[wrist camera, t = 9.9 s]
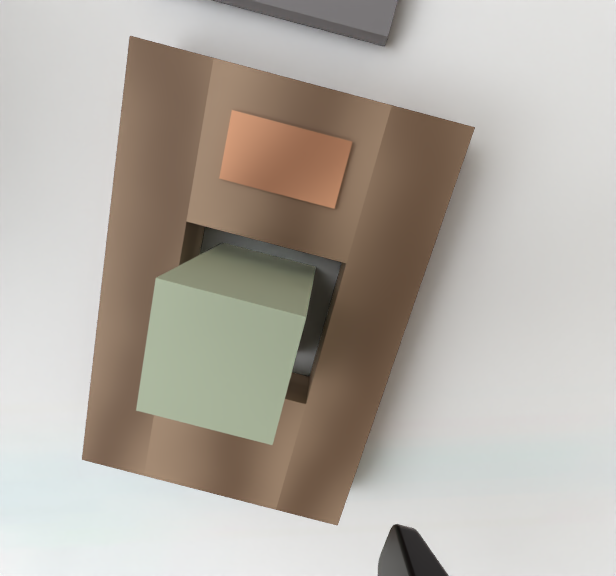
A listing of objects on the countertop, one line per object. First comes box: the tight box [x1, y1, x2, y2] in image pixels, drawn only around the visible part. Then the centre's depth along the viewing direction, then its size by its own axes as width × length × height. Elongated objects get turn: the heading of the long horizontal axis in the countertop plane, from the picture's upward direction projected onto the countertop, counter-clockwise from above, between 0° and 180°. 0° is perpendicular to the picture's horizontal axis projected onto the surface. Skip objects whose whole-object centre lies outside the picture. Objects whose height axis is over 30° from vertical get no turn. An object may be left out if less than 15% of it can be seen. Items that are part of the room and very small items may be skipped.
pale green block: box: [136, 243, 316, 445], centre depth 15 cm, size 4×4×7 cm
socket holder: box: [82, 36, 475, 525], centre depth 17 cm, size 12×18×3 cm
